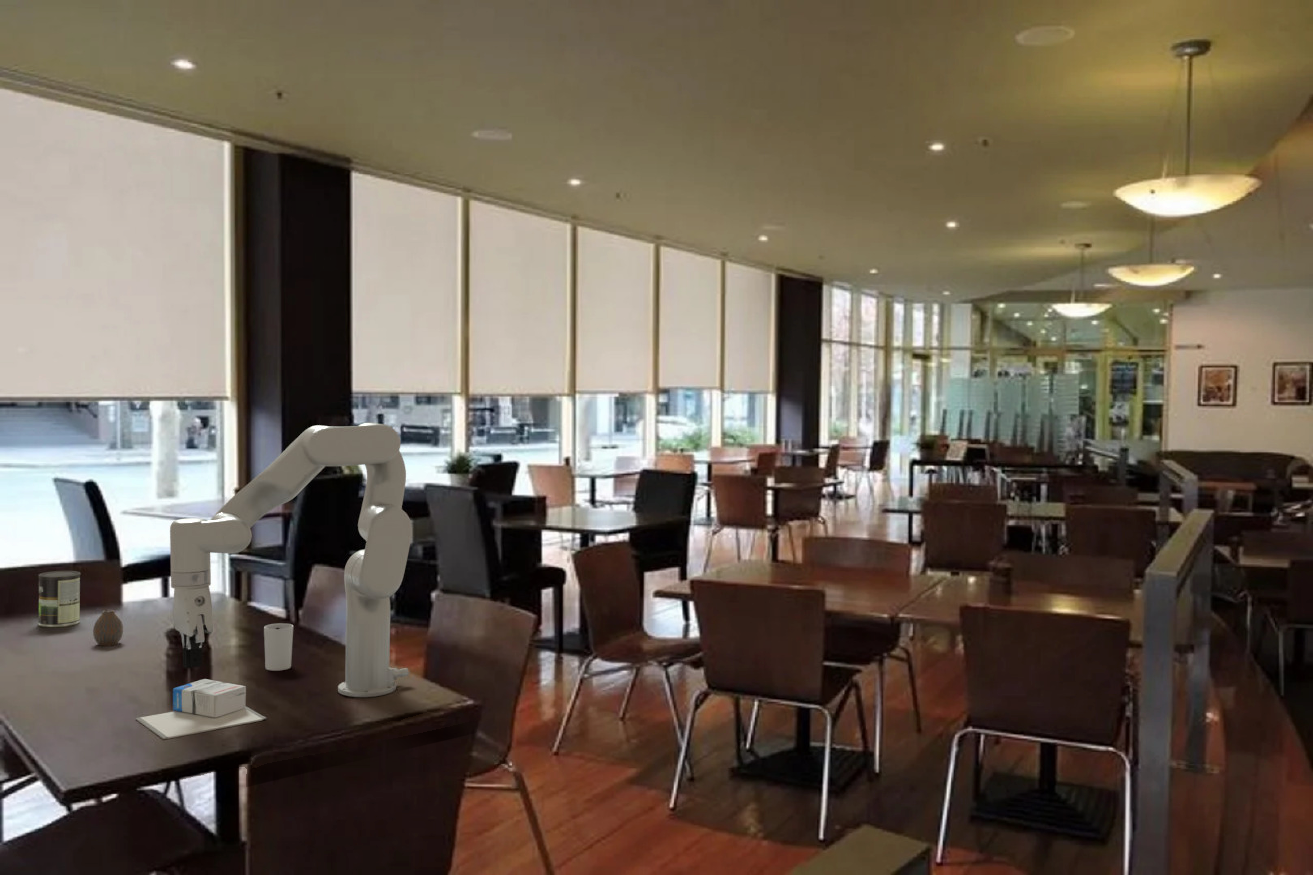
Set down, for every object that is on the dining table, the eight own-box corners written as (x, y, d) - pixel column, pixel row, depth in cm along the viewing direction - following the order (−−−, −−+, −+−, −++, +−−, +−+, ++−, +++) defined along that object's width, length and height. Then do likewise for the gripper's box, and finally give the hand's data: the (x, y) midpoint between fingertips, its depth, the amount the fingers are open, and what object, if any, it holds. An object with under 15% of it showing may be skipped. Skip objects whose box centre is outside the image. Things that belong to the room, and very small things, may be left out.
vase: (107, 648, 270) (107, 614, 270) (86, 645, 272) (87, 612, 272) (129, 642, 276) (129, 609, 276) (108, 640, 279) (108, 607, 278)
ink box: (171, 710, 217) (214, 719, 213) (172, 686, 217) (214, 695, 212) (205, 700, 225) (246, 709, 220) (205, 677, 225) (247, 685, 220)
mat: (235, 701, 226) (235, 700, 226) (266, 719, 214) (266, 718, 214) (135, 719, 212) (135, 718, 212) (163, 739, 201) (163, 738, 201)
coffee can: (36, 628, 290) (36, 577, 290) (40, 621, 299) (40, 571, 299) (78, 625, 294) (79, 575, 294) (81, 618, 304) (81, 569, 303)
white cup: (257, 668, 254) (257, 627, 253) (279, 662, 260) (279, 622, 259) (277, 672, 251) (277, 630, 250) (298, 666, 256) (299, 625, 256)
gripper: (223, 581, 215) (224, 670, 216) (196, 572, 226) (197, 657, 226) (185, 586, 210) (186, 677, 210) (159, 576, 220) (160, 663, 221)
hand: (192, 666), depth 218 cm, fingers closed
